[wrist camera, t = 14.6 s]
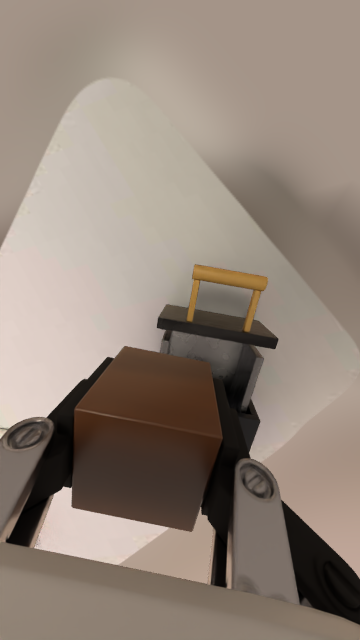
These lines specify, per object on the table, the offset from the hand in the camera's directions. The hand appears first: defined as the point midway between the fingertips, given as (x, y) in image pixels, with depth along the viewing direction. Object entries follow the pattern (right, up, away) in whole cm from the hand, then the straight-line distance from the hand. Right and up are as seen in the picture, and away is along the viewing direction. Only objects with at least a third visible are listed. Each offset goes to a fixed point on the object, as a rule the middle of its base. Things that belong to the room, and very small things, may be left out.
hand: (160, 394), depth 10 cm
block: (0, 0, 0) cm, 0 cm away
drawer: (+5, +1, +17) cm, 18 cm away
